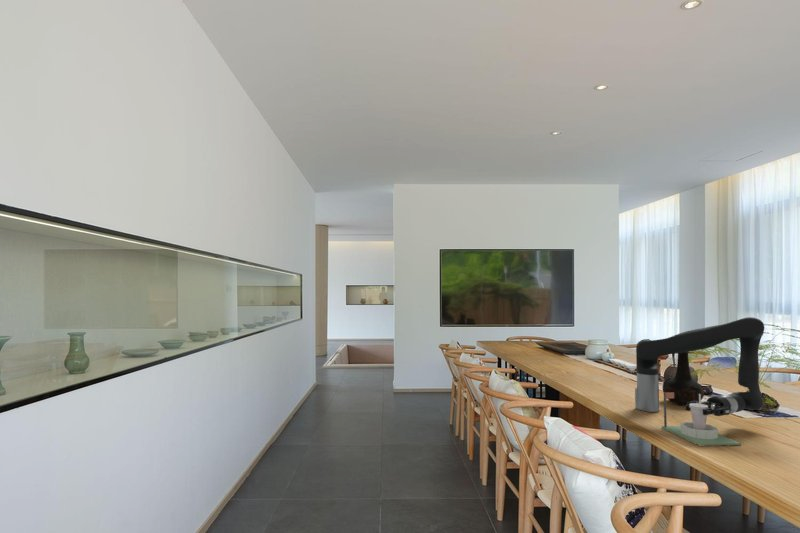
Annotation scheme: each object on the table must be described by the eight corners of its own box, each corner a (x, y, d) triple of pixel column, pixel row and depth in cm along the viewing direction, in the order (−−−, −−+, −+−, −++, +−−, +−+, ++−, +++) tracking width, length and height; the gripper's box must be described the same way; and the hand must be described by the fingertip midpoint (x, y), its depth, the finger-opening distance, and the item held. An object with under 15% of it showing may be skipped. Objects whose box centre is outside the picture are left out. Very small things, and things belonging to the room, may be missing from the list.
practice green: (661, 428, 192) (660, 392, 193) (698, 427, 193) (697, 391, 194) (699, 446, 170) (698, 405, 171) (740, 445, 171) (739, 405, 172)
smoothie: (712, 432, 178) (710, 396, 179) (694, 432, 179) (692, 395, 180) (704, 427, 184) (703, 392, 185) (687, 427, 186) (685, 391, 186)
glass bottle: (666, 397, 245) (665, 344, 247) (706, 403, 234) (705, 347, 235) (659, 403, 232) (657, 347, 233) (701, 410, 220) (699, 351, 221)
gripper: (704, 392, 195) (677, 396, 188) (740, 399, 181) (713, 404, 175) (704, 410, 194) (677, 415, 188) (741, 419, 181) (713, 424, 174)
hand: (694, 410), depth 181 cm, fingers closed on smoothie, 6 cm apart
